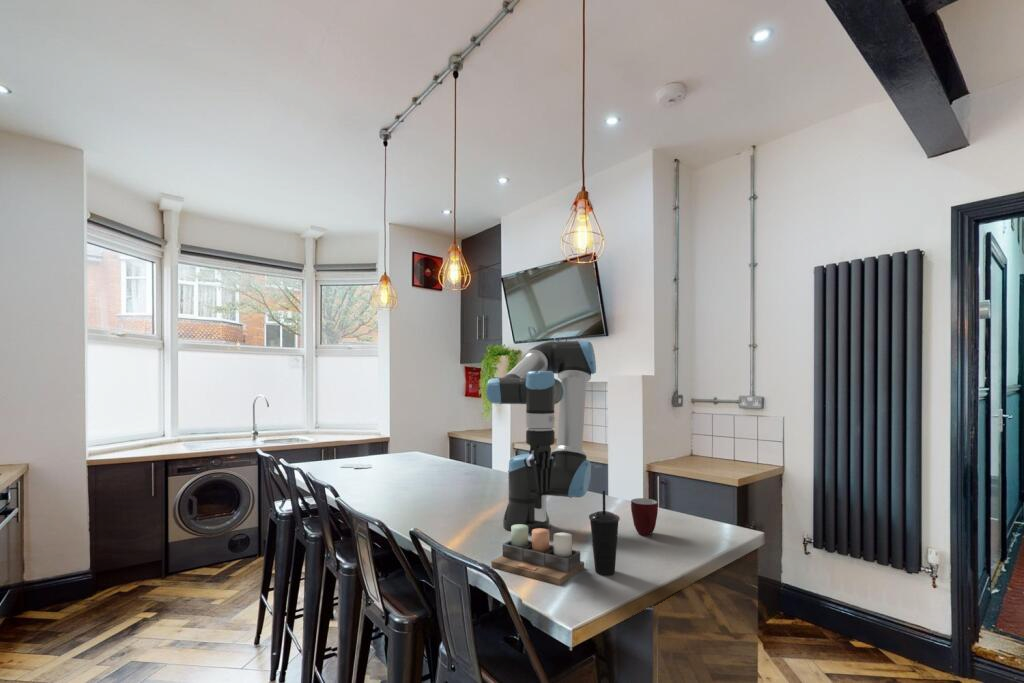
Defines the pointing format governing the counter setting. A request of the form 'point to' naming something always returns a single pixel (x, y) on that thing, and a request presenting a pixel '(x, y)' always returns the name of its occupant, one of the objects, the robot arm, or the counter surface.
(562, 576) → the wooden compartment tray
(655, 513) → the mug
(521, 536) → the pale green rounded cylinder
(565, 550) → the button ivory
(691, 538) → the counter surface
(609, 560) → the drinking cup
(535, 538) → the button terracotta
